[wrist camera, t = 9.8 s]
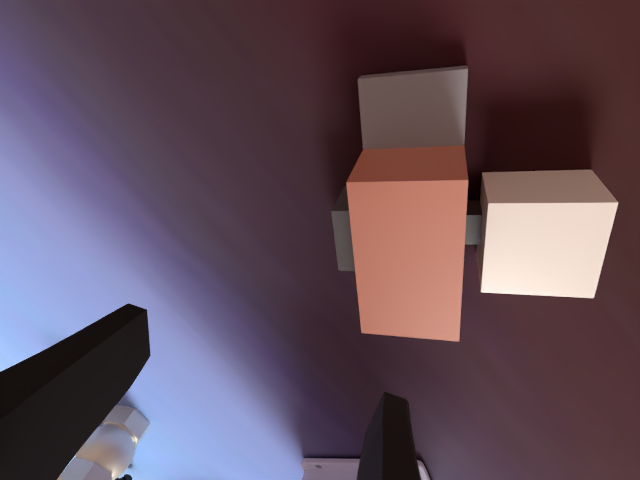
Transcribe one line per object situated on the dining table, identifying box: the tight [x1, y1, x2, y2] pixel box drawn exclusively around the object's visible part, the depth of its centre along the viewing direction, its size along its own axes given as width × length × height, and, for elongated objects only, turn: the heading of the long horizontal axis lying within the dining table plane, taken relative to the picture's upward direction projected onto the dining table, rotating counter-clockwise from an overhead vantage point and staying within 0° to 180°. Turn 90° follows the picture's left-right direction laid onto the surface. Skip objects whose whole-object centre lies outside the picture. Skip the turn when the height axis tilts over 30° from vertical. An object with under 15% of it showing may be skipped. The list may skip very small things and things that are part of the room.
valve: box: [58, 405, 150, 480], centre depth 35 cm, size 7×7×12 cm
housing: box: [346, 66, 468, 341], centre depth 17 cm, size 4×13×4 cm, turn 7°
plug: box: [331, 170, 618, 298], centre depth 17 cm, size 10×4×3 cm, turn 98°
